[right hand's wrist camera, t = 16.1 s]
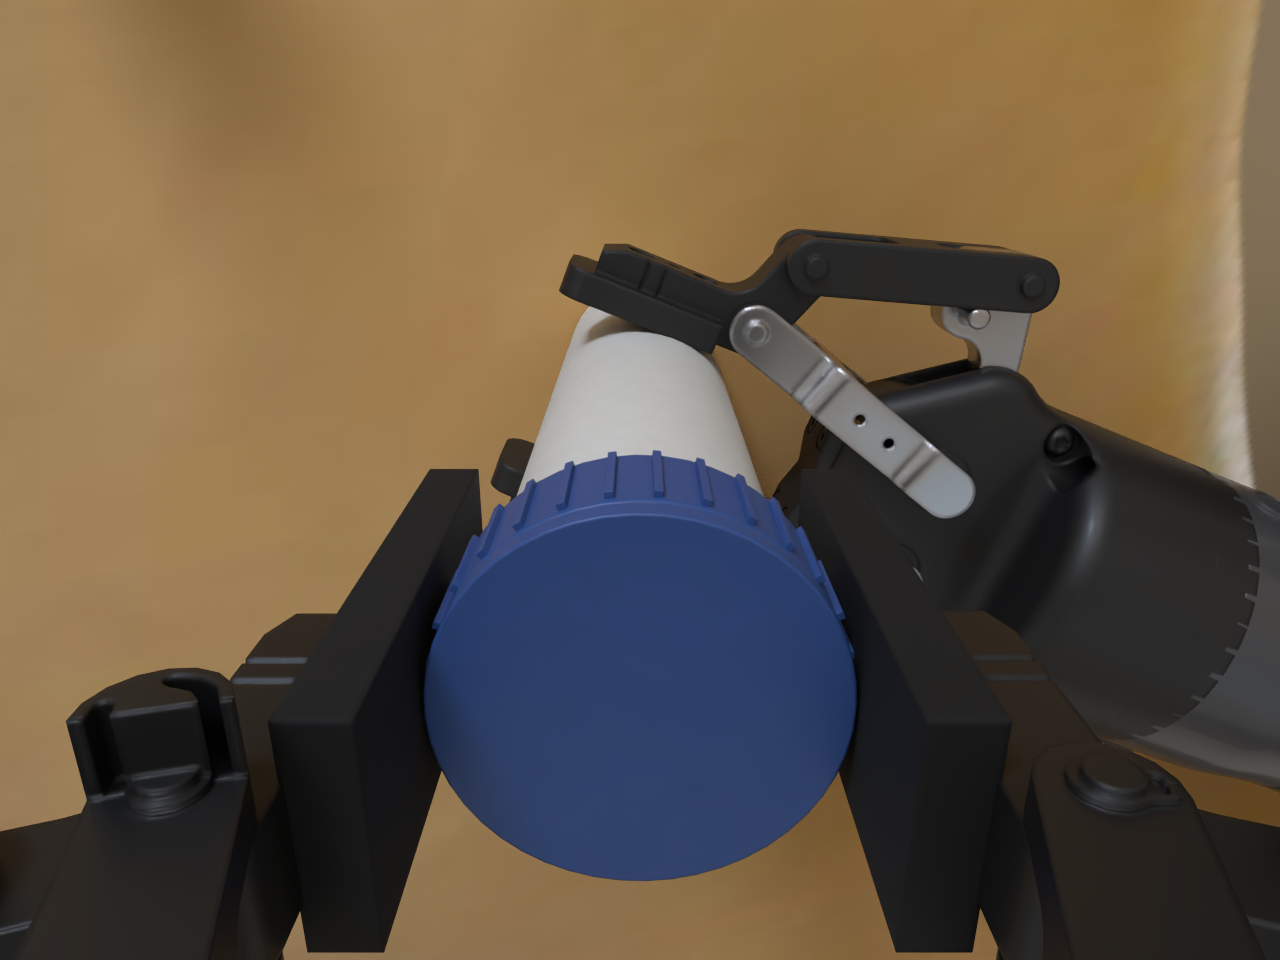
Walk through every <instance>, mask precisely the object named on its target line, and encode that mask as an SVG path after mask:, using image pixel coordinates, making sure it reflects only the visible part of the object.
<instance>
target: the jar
mask: <svg viewBox="0 0 1280 960" xmlns="http://www.w3.org/2000/svg"><path fill="white" fill-rule="evenodd" d="M653 450H657V451H661V455H662V456H667V457H673V458H679V459H685V460H689V461H693V462H695V461H696V458H701V459H704V460H705V464H706V466H710V467H712V468H715V469H717V470H719V471H722V472H724V473H726V474H728V475H731V476H733V477H735V476H736V475H737V474H740V475H742V476H744V477H745V480H746V483H747V485H748V486H750V487H752V488H753V489H755V490H756V491H758V492H759V493H760V494H761V495H763V492H762V490H761V487H760V484H759V481H758V478H757V475H756V472H755V470H754V467H753V464H752V461H751V458H750V455H749V453H748V450H747V447H746V444H745V441H744V438H743V435H742V433H741V430H740V427H739V424H738V421H737V418H736V415H735V413H734V410H733V407H732V404H731V401H730V398H729V396H728V393H727V390H726V387H725V384H724V381H723V378H722V376H721V373H720V370H719V367H718V364H717V361H716V359H715V356H714V353H712V354H709V353H706V352H704V351H701V350H699V349H696V348H694V347H691V346H689V345H686V344H684V343H682V342H680V341H677V340H675V339H673V338H670V337H666V336H664V335H661V334H659V333H656V332H654V331H651V330H648V329H646V328H643V327H641V326H638V325H636V324H633V323H631V322H628V321H626V320H623V319H621V318H618V317H616V316H613V315H611V314H608V313H606V312H603V311H601V310H598V309H596V308H593V307H591V306H589V307H588V309H587V310H586V311H585V312H584V314H583V315H582V317H581V318H580V320H579V322H578V324H577V326H576V329H575V331H574V334H573V337H572V340H571V342H570V345H569V348H568V351H567V354H566V357H565V359H564V362H563V365H562V368H561V371H560V374H559V377H558V379H557V382H556V385H555V388H554V391H553V394H552V397H551V399H550V402H549V405H548V408H547V411H546V414H545V416H544V419H543V422H542V425H541V428H540V431H539V434H538V436H537V439H536V442H535V445H534V448H533V451H532V453H531V456H530V459H529V462H528V465H527V468H526V471H525V473H524V476H523V479H522V482H521V485H520V488H519V491H518V493H517V495H519V494H520V493H522V492H523V491H524V489H525V486H526V483H527V482H528V481H530V480H531V479H534V480H535V481H536V482H538V481H540V480H542V479H544V478H546V477H548V476H550V475H552V474H554V473H556V472H558V471H560V470H563V469H564V466H565V463H567V462H570V461H573V462H574V464H575V465H577V464H580V463H583V462H588V461H592V460H597V459H602V458H606V457H608V452H614V451H616V452H617V456H625V455H652V452H653ZM763 496H764V495H763Z"/></svg>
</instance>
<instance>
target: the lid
mask: <svg viewBox="0 0 1280 960" xmlns="http://www.w3.org/2000/svg"><path fill="white" fill-rule="evenodd" d="M843 619H845V615H844V613H843V610H842V608H841V606H840V603H839V601H838V599H837V596H836V594H835V592H834V589H833V587H832V585H831V583H830V580H829V578H828V576H827V573H826V571H825V569H824V566H823V564H822V562H821V560H819V561H817V558H816V556H815V554H814V551H813V549H812V547H811V544H810V542H809V540H808V537H807V535H806V533H805V531H804V529H803V528H802V527H801V526H800V527H799V528H797V529H795V527H794V526H793V525H792V523H791V522H790V521H789V520H788V519H787V518H786V517H785V516H784V514H783V512H782V509H781V506H780V504H779V501H778V500H777V499H775V498H774V497H772V498H771V499H770V500H768V499H766V498H765V497H764V496H763V495H761V494H760V493H759V492H758V491H756V490H755V489H753V488H752V487H750V486H748V485H747V483H746V480H745V477H744V476H742V475H740V474H737V475H736V476H735V477H733V476H731V475H728V474H726V473H724V472H722V471H719V470H717V469H715V468H712V467H710V466H706V464H705V460H704V459H701V458H696V461H695V462H693V461H689V460H685V459H679V458H673V457H667V456H662V455H661V451H657V450H653V452H652V455H625V456H617V452H616V451H614V452H608V457H606V458H602V459H597V460H592V461H588V462H583V463H580V464H577V465H575V464H574V462H573V461H570V462H567V463H565V466H564V469H563V470H560V471H558V472H556V473H554V474H552V475H550V476H548V477H546V478H544V479H542V480H540V481H538V482H536V481H535V480H534V479H531V480H530V481H528V482H527V483H526V486H525V489H524V491H523V492H522V493H520V494H519V495H517V496H516V497H515V498H514V499H513V500H512V501H511V502H509V503H508V504H507V505H506V506H505V507H503V506H502V505H501V504H498V505H497V506H496V507H495V508H494V511H493V513H492V516H491V518H490V521H489V523H488V525H487V527H486V528H485V529H484V530H483V532H482V533H481V535H480V537H478V536H476V535H473V536H472V538H471V539H470V541H469V543H468V546H467V548H466V550H465V553H464V555H463V557H462V560H461V562H460V564H459V567H458V569H456V571H455V573H454V576H453V578H452V580H451V582H450V585H449V587H448V589H447V592H446V594H445V596H444V599H443V601H442V603H441V606H440V608H439V610H438V613H437V615H436V617H435V619H434V622H433V625H432V629H434V630H438V631H437V633H436V635H435V638H434V640H433V642H432V645H431V649H430V653H429V655H428V658H427V660H426V669H425V679H424V689H423V699H424V716H425V721H426V726H427V731H428V735H429V740H430V743H431V746H432V748H433V751H434V754H435V756H436V759H437V762H438V764H439V766H440V768H441V770H442V772H443V773H444V775H445V777H446V779H447V781H448V783H449V784H450V786H451V787H452V789H453V790H454V791H455V793H456V794H457V795H458V797H459V798H460V799H461V801H462V802H463V803H464V805H465V806H466V807H467V808H468V809H469V810H470V811H471V812H472V813H473V814H474V815H475V816H476V817H477V818H478V819H479V820H480V821H481V822H482V823H483V824H484V825H485V826H487V827H488V828H489V829H490V830H492V831H493V832H494V833H495V834H496V835H498V836H499V837H500V838H502V839H503V840H505V841H506V842H508V843H510V844H511V845H513V846H514V847H516V848H518V849H519V850H521V851H522V852H525V853H527V854H529V855H531V856H533V857H535V858H537V859H539V860H541V861H543V862H545V863H548V864H551V865H554V866H557V867H560V868H562V869H565V870H568V871H572V872H576V873H580V874H584V875H588V876H593V877H599V878H607V879H614V880H628V881H653V880H667V879H675V878H681V877H687V876H692V875H698V874H701V873H705V872H708V871H712V870H715V869H719V868H722V867H724V866H727V865H729V864H732V863H734V862H737V861H739V860H742V859H744V858H746V857H748V856H750V855H752V854H754V853H756V852H757V851H759V850H761V849H763V848H765V847H767V846H768V845H770V844H771V843H773V842H774V841H775V840H777V839H778V838H780V837H781V836H783V835H784V834H785V833H787V832H788V831H789V830H791V829H792V828H793V827H794V826H795V825H796V824H797V823H798V822H799V821H801V820H802V819H803V818H804V817H805V816H806V815H807V814H808V813H809V812H810V811H811V809H812V808H813V807H814V806H815V805H816V804H817V802H818V801H819V800H820V799H821V798H822V797H823V795H824V794H825V792H826V791H827V789H828V788H829V786H830V785H831V783H832V781H833V780H834V778H835V777H836V775H837V773H838V771H839V769H840V767H841V764H842V762H843V760H844V758H845V756H846V754H847V750H848V747H849V744H850V740H851V737H852V734H853V730H854V724H855V717H856V710H857V680H856V674H855V668H854V662H853V659H854V656H855V654H854V650H853V647H852V645H851V643H850V640H849V638H848V635H847V633H846V631H845V628H844V626H843V624H842V621H841V620H843Z"/></svg>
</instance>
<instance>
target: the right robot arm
mask: <svg viewBox="0 0 1280 960" xmlns="http://www.w3.org/2000/svg"><path fill="white" fill-rule="evenodd" d="M800 526H801V527H802V528H803V529H804V531H805V533H806V535H807V537H808V540H809V542H810V544H811V547H812V549H813V551H814V554H815V556H816V558H817V561H819V560H821V562H822V564H823V566H824V569H825V571H826V573H827V576H828V578H829V580H830V583H831V585H832V587H833V589H834V592H835V594H836V596H837V599H838V601H839V603H840V606H841V608H842V610H843V613H844V615H845V619H843V620H841V621H842V624H843V626H844V628H845V631H846V633H847V635H848V638H849V640H850V643H851V645H852V647H853V650H854V654H855V656H854V659H853V662H854V668H855V674H856V680H857V710H856V717H855V724H854V730H853V734H852V737H851V740H850V744H849V747H848V750H847V754H846V756H845V758H844V760H843V762H842V764H841V767H840V769H839V774H840V777H841V780H842V783H843V786H844V790H845V793H846V796H847V799H848V802H849V805H850V809H851V812H852V815H853V818H854V821H855V824H856V828H857V831H858V834H859V837H860V840H861V843H862V846H863V850H864V853H865V856H866V859H867V862H868V865H869V869H870V872H871V875H872V878H873V881H874V884H875V888H876V891H877V894H878V897H879V900H880V903H881V906H882V910H883V913H884V916H885V919H886V922H887V925H888V929H889V932H890V935H891V938H892V941H893V944H894V948H895V951H896V952H973V946H974V940H975V934H976V929H977V923H978V917H979V911H980V908H981V910H982V912H983V914H984V917H985V919H986V921H987V923H988V926H989V928H990V930H991V932H992V935H993V937H994V939H995V941H996V944H997V946H998V951H997V957H996V960H1280V827H1275V826H1270V825H1265V824H1261V823H1256V822H1251V821H1246V820H1242V819H1237V818H1232V817H1227V816H1222V815H1218V814H1214V813H1211V812H1207V811H1203V810H1200V809H1197V807H1196V804H1195V802H1194V800H1193V798H1192V797H1191V796H1190V794H1189V793H1188V792H1187V790H1186V789H1185V788H1184V787H1183V785H1182V784H1181V783H1180V781H1179V780H1178V779H1177V778H1175V777H1174V776H1173V775H1171V774H1170V773H1168V772H1167V771H1166V770H1164V769H1163V768H1162V767H1160V766H1159V765H1158V764H1156V763H1155V762H1153V761H1150V760H1148V759H1146V758H1144V757H1142V756H1140V755H1137V754H1135V753H1133V752H1131V751H1129V750H1126V749H1123V748H1119V747H1115V746H1111V745H1107V744H1103V743H1102V742H1101V741H1100V740H1099V738H1098V737H1097V736H1096V735H1095V733H1094V732H1093V731H1092V729H1091V728H1090V727H1089V725H1088V724H1087V723H1086V722H1085V720H1084V719H1083V718H1082V716H1081V715H1080V714H1079V712H1078V711H1077V710H1076V709H1075V707H1074V706H1073V705H1072V703H1071V702H1070V701H1069V700H1068V698H1067V697H1066V696H1065V694H1064V693H1063V692H1062V690H1061V689H1060V688H1059V687H1058V685H1057V684H1056V683H1055V681H1051V680H1050V675H1049V674H1048V672H1047V671H1046V670H1045V668H1044V667H1043V666H1042V665H1041V663H1040V662H1039V661H1035V655H1034V654H1033V653H1032V652H1031V650H1030V649H1029V648H1028V646H1027V645H1026V644H1025V642H1024V641H1023V640H1022V639H1021V637H1020V636H1019V635H1018V633H1017V632H1016V631H1014V630H1013V629H1011V628H1010V627H1008V626H1007V625H1005V624H1004V623H1002V622H1000V621H999V620H997V619H996V618H994V617H993V616H991V615H990V614H988V613H986V612H985V611H941V610H940V608H939V607H938V605H937V603H936V602H935V600H934V599H933V597H932V596H931V594H930V593H929V591H928V589H927V588H926V586H925V585H924V583H923V582H922V580H921V579H920V577H919V576H918V574H917V572H916V571H915V569H914V568H913V566H912V565H911V563H910V562H909V560H908V559H907V557H906V555H905V554H904V552H903V551H902V549H901V548H900V546H899V545H898V543H897V541H896V540H895V538H894V537H893V535H892V534H891V532H890V531H889V529H888V528H887V526H886V524H885V523H884V521H883V520H882V518H881V517H880V515H879V514H878V512H877V510H876V509H875V507H874V506H873V504H872V503H871V501H870V500H869V498H868V497H867V495H866V493H865V492H864V490H863V489H862V487H861V486H860V484H859V483H858V481H857V479H856V478H855V476H854V475H853V473H852V472H851V470H850V469H802V472H801V487H800V501H799V516H798V528H799V527H800ZM482 532H483V531H482V517H481V502H480V487H479V472H478V469H430V470H429V472H428V473H427V475H426V476H425V478H424V479H423V481H422V483H421V484H420V486H419V487H418V489H417V490H416V492H415V493H414V495H413V496H412V498H411V500H410V501H409V503H408V504H407V506H406V507H405V509H404V510H403V512H402V514H401V515H400V517H399V518H398V520H397V521H396V523H395V524H394V526H393V527H392V529H391V531H390V532H389V534H388V535H387V537H386V538H385V540H384V541H383V543H382V545H381V546H380V548H379V549H378V551H377V552H376V554H375V555H374V557H373V558H372V560H371V562H370V563H369V565H368V566H367V568H366V569H365V571H364V572H363V574H362V576H361V577H360V579H359V580H358V582H357V583H356V585H355V586H354V588H353V589H352V591H351V593H350V594H349V596H348V597H347V599H346V600H345V602H344V603H343V605H342V607H341V608H340V610H339V611H338V613H337V614H295V615H294V616H292V617H291V618H289V619H288V620H286V621H285V622H283V623H281V624H280V625H278V626H277V627H275V628H274V629H272V630H271V631H269V632H268V633H266V634H264V636H263V637H262V638H261V640H260V641H259V642H258V644H257V645H256V646H255V647H254V649H253V650H252V651H251V653H250V654H249V655H248V657H247V658H246V663H245V664H241V666H240V667H239V668H238V670H237V671H236V672H235V674H234V675H233V676H232V678H231V679H230V681H229V680H228V679H227V678H225V677H224V676H223V675H222V674H220V673H218V672H214V671H209V670H205V669H200V668H175V669H165V670H160V671H156V672H151V673H146V674H142V675H137V676H135V677H132V678H130V679H127V680H125V681H122V682H119V683H117V684H114V685H112V686H109V687H107V688H105V689H104V690H102V691H101V692H99V693H97V694H96V695H94V696H93V697H91V698H89V699H88V700H86V701H85V702H83V703H82V704H81V705H80V706H79V707H78V708H77V709H76V710H75V711H74V713H73V714H72V715H71V716H70V717H69V718H68V719H67V720H66V724H67V727H68V731H69V735H70V739H71V742H72V746H73V750H74V754H75V757H76V761H77V765H78V768H79V772H80V776H81V780H82V783H83V787H84V791H85V795H86V798H87V802H86V804H85V806H84V808H83V810H82V813H80V814H77V815H73V816H69V817H66V818H62V819H57V820H53V821H48V822H43V823H38V824H34V825H29V826H24V827H19V828H15V829H10V830H5V831H0V960H284V957H283V948H284V946H285V944H286V942H287V939H288V937H289V935H290V932H291V930H292V928H293V926H294V923H295V921H296V919H297V917H298V914H299V912H301V917H302V923H303V929H304V935H305V940H306V946H307V952H384V951H385V947H386V944H387V941H388V938H389V935H390V932H391V928H392V925H393V922H394V919H395V916H396V913H397V910H398V906H399V903H400V900H401V897H402V894H403V891H404V887H405V884H406V881H407V878H408V875H409V872H410V869H411V865H412V862H413V859H414V856H415V853H416V850H417V846H418V843H419V840H420V837H421V834H422V831H423V827H424V824H425V821H426V818H427V815H428V812H429V809H430V805H431V802H432V799H433V796H434V793H435V790H436V786H437V783H438V780H439V777H440V774H441V771H442V770H441V768H440V766H439V764H438V762H437V759H436V756H435V754H434V751H433V748H432V746H431V743H430V740H429V735H428V731H427V726H426V721H425V716H424V699H423V689H424V679H425V669H426V660H427V658H428V655H429V653H430V649H431V645H432V642H433V640H434V638H435V635H436V633H437V631H438V630H434V629H432V625H433V622H434V619H435V617H436V615H437V613H438V610H439V608H440V606H441V603H442V601H443V599H444V596H445V594H446V592H447V589H448V587H449V585H450V582H451V580H452V578H453V576H454V573H455V571H456V569H458V567H459V564H460V562H461V560H462V557H463V555H464V553H465V550H466V548H467V546H468V543H469V541H470V539H471V538H472V536H473V535H476V536H478V537H480V535H481V533H482Z"/></svg>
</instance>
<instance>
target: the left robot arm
mask: <svg viewBox="0 0 1280 960" xmlns="http://www.w3.org/2000/svg"><path fill="white" fill-rule="evenodd" d="M1059 285H1060V278H1059V274H1058V271H1057V269H1056V268H1055V266H1054V265H1053V264H1052V263H1051V262H1049V261H1047V260H1045V259H1042V258H1039V257H1035V256H1032V255H1029V254H1026V253H1022V252H1019V251H1015V250H1011V249H1007V248H1004V247H999V246H990V245H979V244H967V243H956V242H944V241H933V240H921V239H909V238H898V237H886V236H875V235H863V234H852V233H840V232H828V231H817V230H805V229H796V230H792V231H789V232H787V233H785V234H784V235H783V236H782V237H781V238H780V239H779V240H778V242H777V243H776V245H775V248H774V252H773V254H772V255H771V256H770V257H769V258H768V259H767V260H766V261H765V262H764V264H763V265H762V266H761V267H760V268H759V269H758V270H757V271H756V272H755V273H754V274H753V275H752V276H750V277H749V278H748V279H746V280H744V281H741V282H737V283H724V282H720V281H717V280H715V279H713V278H710V277H708V276H705V275H703V274H700V273H698V272H695V271H693V270H691V269H688V268H686V267H683V266H681V265H678V264H676V263H673V262H671V261H668V260H666V259H664V258H661V257H659V256H656V255H654V254H651V253H649V252H646V251H644V250H642V249H639V248H637V247H634V246H632V245H629V244H605V245H604V248H603V250H602V253H601V256H600V258H599V261H598V262H597V261H595V260H592V259H589V258H587V257H583V256H580V255H573V256H572V258H571V260H570V261H569V264H568V267H567V270H566V272H565V275H564V278H563V281H562V283H561V286H560V289H559V291H560V292H561V293H562V294H564V295H565V296H567V297H569V298H571V299H573V300H576V301H578V302H580V303H583V304H585V305H588V306H591V307H593V308H596V309H598V310H601V311H603V312H606V313H608V314H611V315H613V316H616V317H618V318H621V319H623V320H626V321H628V322H631V323H633V324H636V325H638V326H641V327H643V328H646V329H648V330H651V331H654V332H656V333H659V334H661V335H664V336H666V337H670V338H673V339H675V340H677V341H680V342H682V343H684V344H686V345H689V346H691V347H694V348H696V349H699V350H701V351H704V352H706V353H709V354H712V353H713V350H714V348H715V346H716V345H718V346H721V347H723V348H726V349H729V350H731V351H734V352H736V353H739V354H740V355H741V356H742V357H744V358H745V359H746V360H747V361H749V362H750V363H751V364H752V365H754V366H755V367H756V368H757V369H759V370H760V371H761V372H762V373H763V374H765V375H766V376H767V377H768V378H770V379H771V380H772V381H773V382H775V383H776V384H777V385H778V386H779V387H781V388H782V389H783V390H784V391H786V392H787V393H788V394H789V395H791V396H792V397H793V398H794V399H795V400H796V401H797V402H798V403H799V404H800V405H801V406H802V407H803V408H804V409H805V410H806V411H807V412H808V413H809V414H811V415H812V416H811V418H810V420H809V422H808V424H807V426H806V428H805V430H804V436H803V441H802V446H801V451H800V457H799V460H798V461H797V463H796V464H795V465H794V466H793V467H792V469H791V470H790V471H789V472H788V473H787V474H786V476H785V477H784V478H783V479H782V480H781V481H780V483H779V484H778V486H777V488H776V490H775V492H774V494H773V497H774V498H775V499H777V500H778V501H779V504H780V506H781V509H782V512H783V514H784V516H785V517H786V518H787V519H788V520H789V521H790V522H791V523H792V525H793V526H794V527H795V529H797V528H798V516H799V501H800V487H801V472H802V469H850V470H851V472H852V473H853V475H854V476H855V478H856V479H857V481H858V483H859V484H860V486H861V487H862V489H863V490H864V492H865V493H866V495H867V497H868V498H869V500H870V501H871V503H872V504H873V506H874V507H875V509H876V510H877V512H878V514H879V515H880V517H881V518H882V520H883V521H884V523H885V524H886V526H887V528H888V529H889V531H890V532H891V534H892V535H893V537H894V538H895V540H896V541H897V543H898V545H899V546H900V548H901V549H902V551H903V552H904V554H905V555H906V557H907V559H908V560H909V562H910V563H911V565H912V566H913V568H914V569H915V571H916V572H917V574H918V576H919V577H920V579H921V580H922V582H923V583H924V585H925V586H926V588H927V589H928V591H929V593H930V594H931V596H932V597H933V599H934V600H935V602H936V603H937V605H938V607H939V608H940V610H941V611H985V612H986V613H988V614H990V615H991V616H993V617H994V618H996V619H997V620H999V621H1000V622H1002V623H1004V624H1005V625H1007V626H1008V627H1010V628H1011V629H1013V630H1014V631H1016V632H1017V633H1018V635H1019V636H1020V637H1021V639H1022V640H1023V641H1024V642H1025V644H1026V645H1027V646H1028V648H1029V649H1030V650H1031V652H1032V653H1033V654H1034V655H1035V661H1039V662H1040V663H1041V665H1042V666H1043V667H1044V668H1045V670H1046V671H1047V672H1048V674H1049V675H1050V680H1051V681H1055V683H1056V684H1057V685H1058V687H1059V688H1060V689H1061V690H1062V692H1063V693H1064V694H1065V696H1066V697H1067V698H1068V700H1069V701H1070V702H1071V703H1072V705H1073V706H1074V707H1075V709H1076V710H1077V711H1078V712H1079V714H1080V715H1081V716H1082V718H1083V719H1084V720H1085V722H1086V723H1087V724H1088V725H1089V727H1090V728H1091V729H1092V731H1093V732H1094V733H1095V735H1096V736H1097V737H1098V738H1099V740H1100V741H1101V742H1103V743H1105V744H1107V745H1111V746H1115V747H1119V748H1123V749H1126V750H1129V751H1137V752H1140V753H1143V754H1146V755H1148V756H1151V757H1154V758H1156V759H1159V760H1162V761H1165V762H1169V763H1172V764H1175V765H1178V766H1181V767H1185V768H1188V769H1191V770H1196V771H1200V772H1205V773H1209V774H1215V775H1221V776H1226V777H1231V778H1236V779H1241V780H1245V781H1249V782H1252V783H1255V784H1257V785H1260V786H1263V787H1266V788H1268V789H1271V790H1274V791H1277V792H1280V500H1279V499H1276V498H1274V497H1272V496H1270V495H1268V494H1267V493H1264V492H1262V491H1259V490H1255V489H1251V488H1249V487H1246V486H1244V485H1241V484H1239V483H1236V482H1234V481H1231V480H1229V479H1226V478H1224V477H1221V476H1219V475H1216V474H1214V473H1212V472H1209V471H1207V470H1205V469H1203V468H1200V467H1198V466H1195V465H1193V464H1190V463H1188V462H1186V461H1183V460H1181V459H1178V458H1176V457H1173V456H1171V455H1168V454H1166V453H1164V452H1161V451H1159V450H1156V449H1154V448H1151V447H1149V446H1146V445H1144V444H1142V443H1139V442H1137V441H1134V440H1132V439H1129V438H1127V437H1124V436H1122V435H1120V434H1117V433H1115V432H1112V431H1110V430H1107V429H1105V428H1102V427H1100V426H1098V425H1095V424H1093V423H1090V422H1088V421H1085V420H1083V419H1080V418H1078V417H1076V416H1073V415H1071V414H1068V413H1066V412H1063V411H1061V410H1058V409H1056V408H1054V407H1051V406H1049V405H1047V404H1046V403H1045V402H1044V401H1043V400H1042V398H1041V397H1040V396H1039V395H1038V393H1037V391H1036V390H1035V388H1034V387H1033V385H1032V384H1031V383H1030V382H1029V381H1028V380H1027V379H1026V378H1025V377H1024V376H1023V375H1021V374H1020V373H1018V371H1019V367H1020V362H1021V358H1022V354H1023V350H1024V346H1025V341H1026V337H1027V333H1028V329H1029V324H1030V320H1031V316H1032V313H1035V312H1038V311H1040V310H1042V309H1044V308H1046V307H1047V306H1048V305H1049V304H1050V303H1051V302H1052V301H1053V300H1054V298H1055V297H1056V295H1057V292H1058V290H1059ZM820 296H825V297H837V298H849V299H861V300H872V301H884V302H896V303H908V304H920V305H931V308H930V310H931V316H932V318H933V321H934V322H935V323H936V324H937V325H938V326H939V327H940V328H942V329H943V330H945V331H947V332H948V333H950V334H951V335H953V336H955V337H957V338H962V339H964V341H965V342H966V345H967V348H968V358H967V359H963V360H959V361H955V362H951V363H947V364H942V365H938V366H934V367H930V368H926V369H922V370H918V371H914V372H910V373H905V374H901V375H897V376H893V377H889V378H885V379H881V380H876V381H872V382H868V383H867V382H866V381H865V380H864V379H862V378H861V377H860V376H859V375H858V374H856V373H855V372H854V371H853V370H852V369H851V368H849V367H848V366H847V365H846V364H845V363H843V362H842V361H841V360H840V359H839V358H837V357H836V356H835V355H834V354H833V353H831V352H830V351H829V350H828V349H827V348H825V347H824V346H823V345H822V344H821V343H819V342H818V341H817V340H816V339H814V338H813V337H811V336H810V335H809V334H807V333H806V332H805V331H804V330H803V329H801V328H800V327H799V326H798V325H797V324H795V322H796V321H797V320H798V319H799V318H800V317H801V316H802V315H803V314H804V313H805V312H806V311H807V309H808V308H809V307H810V306H811V305H812V304H813V303H814V302H815V301H816V300H817V299H818V298H819V297H820ZM534 445H535V444H534V443H531V442H528V441H525V440H522V439H516V438H511V439H508V440H507V441H506V444H505V446H504V448H503V450H502V453H501V455H500V457H499V460H498V463H497V466H496V468H495V471H494V474H493V477H492V479H491V484H492V486H493V487H494V488H495V489H497V490H498V491H500V492H501V493H504V494H506V495H508V496H511V500H510V502H511V501H512V500H513V499H514V498H515V497H516V496H517V493H518V491H519V488H520V485H521V482H522V479H523V476H524V473H525V471H526V468H527V465H528V462H529V459H530V456H531V453H532V451H533V448H534ZM766 499H768V500H770V499H771V498H766Z"/></svg>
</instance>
